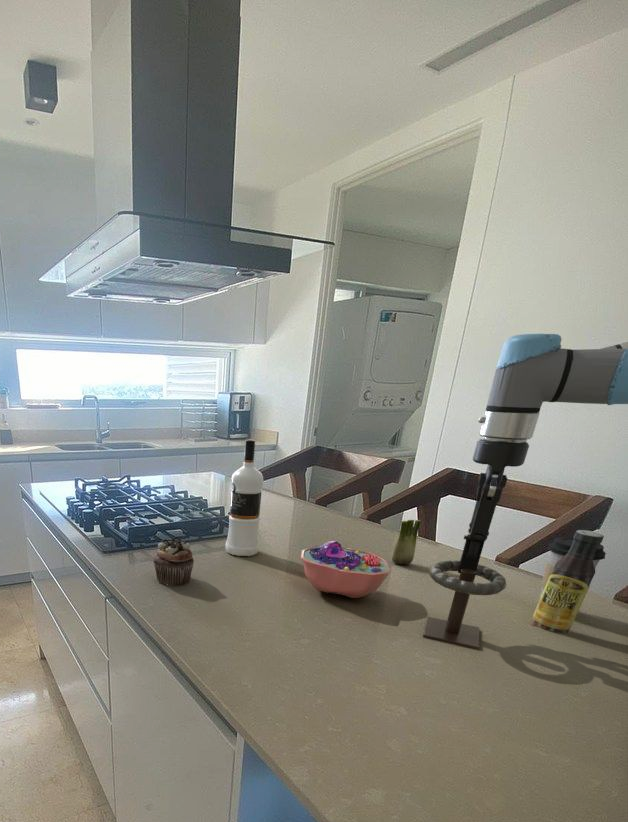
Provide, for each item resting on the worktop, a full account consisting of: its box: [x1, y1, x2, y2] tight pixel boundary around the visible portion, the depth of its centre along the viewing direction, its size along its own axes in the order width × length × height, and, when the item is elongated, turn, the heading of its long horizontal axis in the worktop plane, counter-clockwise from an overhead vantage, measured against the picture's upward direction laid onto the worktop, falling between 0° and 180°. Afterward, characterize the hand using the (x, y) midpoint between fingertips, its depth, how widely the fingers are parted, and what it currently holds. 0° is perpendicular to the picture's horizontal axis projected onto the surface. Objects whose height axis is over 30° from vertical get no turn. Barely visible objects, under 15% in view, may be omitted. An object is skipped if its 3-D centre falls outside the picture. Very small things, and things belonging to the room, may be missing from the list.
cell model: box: [300, 540, 392, 599], centre depth 108 cm, size 17×20×11 cm
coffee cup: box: [538, 536, 607, 602], centre depth 101 cm, size 9×9×15 cm
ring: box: [429, 559, 507, 596], centre depth 87 cm, size 12×12×2 cm
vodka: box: [225, 439, 264, 557], centre depth 129 cm, size 9×9×30 cm
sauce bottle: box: [530, 529, 605, 634], centre depth 91 cm, size 7×6×20 cm
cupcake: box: [152, 537, 195, 586], centre depth 114 cm, size 10×10×10 cm
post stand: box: [422, 569, 480, 651], centre depth 89 cm, size 9×9×14 cm
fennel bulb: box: [391, 519, 422, 566], centre depth 127 cm, size 6×5×12 cm
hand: (466, 571), depth 91 cm, fingers closed on ring, 2 cm apart
